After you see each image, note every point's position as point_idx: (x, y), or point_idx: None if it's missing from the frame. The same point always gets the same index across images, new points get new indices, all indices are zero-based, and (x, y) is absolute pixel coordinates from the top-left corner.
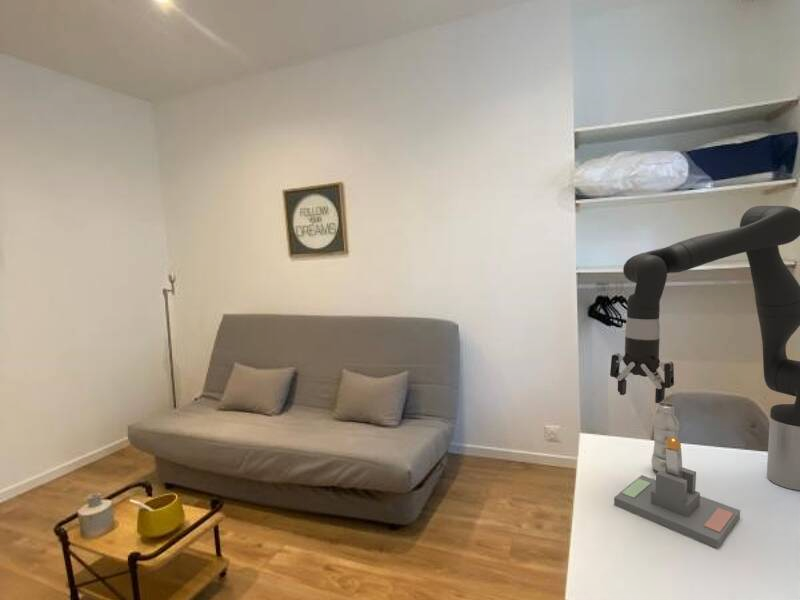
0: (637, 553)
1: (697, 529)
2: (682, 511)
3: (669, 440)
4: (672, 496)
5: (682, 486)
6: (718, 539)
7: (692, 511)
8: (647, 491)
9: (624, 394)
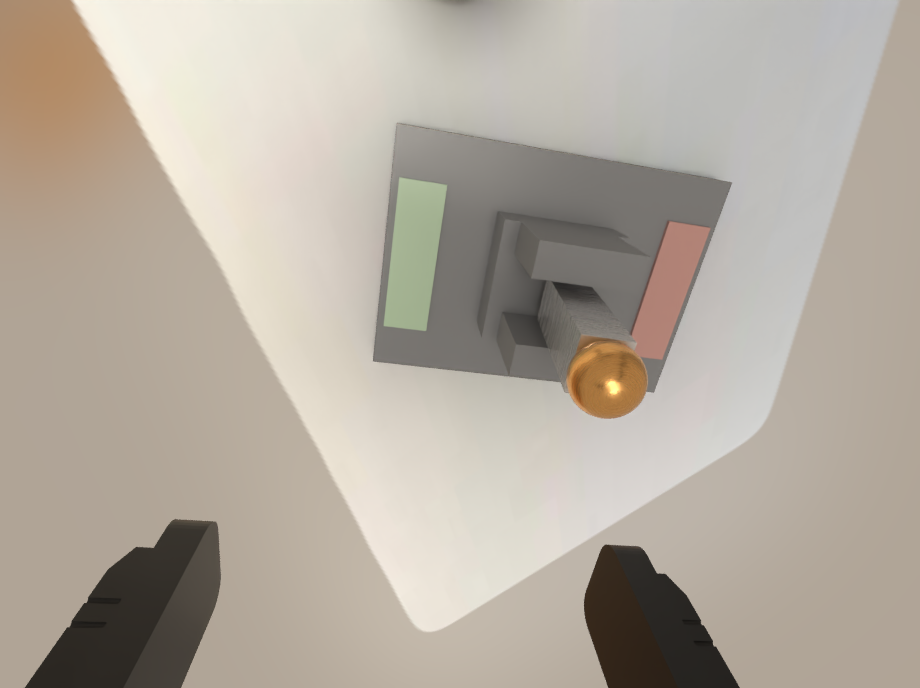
0: (487, 498)
1: None
2: None
3: (598, 414)
4: None
5: None
6: (655, 387)
7: None
8: (450, 252)
9: (218, 547)
